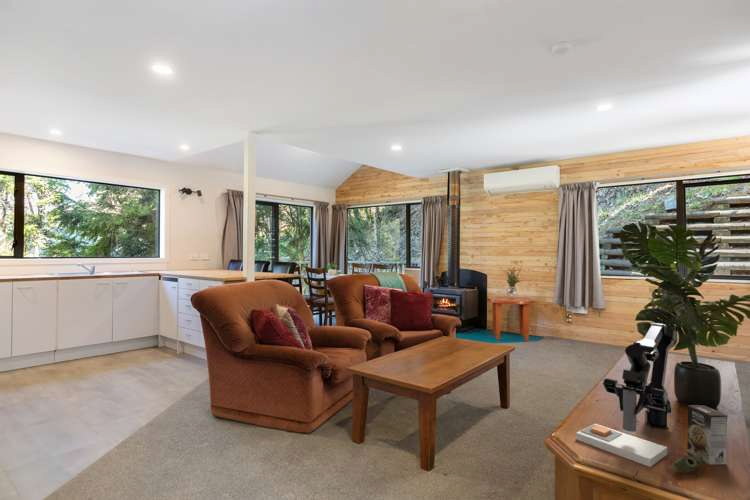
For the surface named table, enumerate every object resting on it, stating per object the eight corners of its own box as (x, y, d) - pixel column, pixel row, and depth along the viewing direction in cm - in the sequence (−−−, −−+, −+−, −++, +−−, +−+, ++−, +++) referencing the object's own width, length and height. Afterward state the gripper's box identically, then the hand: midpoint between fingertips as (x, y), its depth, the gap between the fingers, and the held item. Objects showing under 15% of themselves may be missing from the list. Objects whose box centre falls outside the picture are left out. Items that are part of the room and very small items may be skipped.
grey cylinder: (634, 430, 147) (635, 390, 147) (637, 435, 143) (637, 393, 143) (621, 428, 148) (622, 388, 148) (623, 433, 144) (624, 392, 144)
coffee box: (686, 451, 145) (686, 404, 145) (703, 451, 146) (704, 404, 146) (709, 465, 136) (709, 415, 136) (727, 464, 137) (728, 414, 137)
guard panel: (576, 439, 154) (576, 431, 154) (594, 430, 162) (594, 422, 162) (650, 467, 135) (650, 458, 135) (667, 454, 143) (667, 446, 143)
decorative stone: (702, 483, 126) (703, 466, 126) (671, 474, 130) (671, 458, 130) (702, 468, 134) (703, 452, 134) (673, 461, 139) (673, 445, 139)
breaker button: (591, 433, 154) (591, 428, 154) (597, 430, 157) (597, 425, 157) (604, 438, 150) (604, 433, 150) (610, 435, 153) (611, 429, 153)
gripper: (605, 355, 155) (593, 392, 148) (665, 366, 141) (655, 407, 134) (612, 373, 160) (601, 409, 153) (671, 385, 147) (661, 425, 139)
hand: (628, 412), depth 145 cm, fingers closed on grey cylinder, 4 cm apart
